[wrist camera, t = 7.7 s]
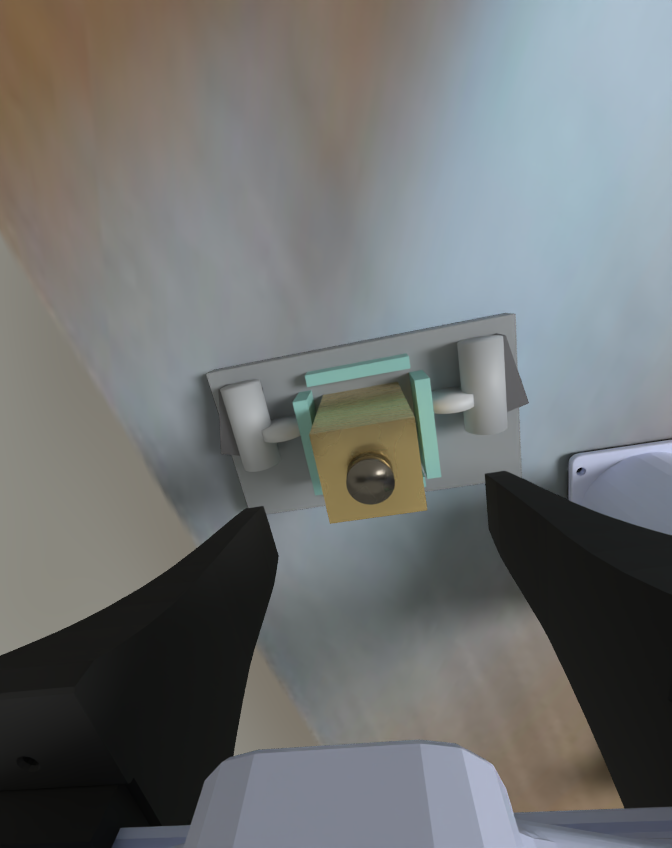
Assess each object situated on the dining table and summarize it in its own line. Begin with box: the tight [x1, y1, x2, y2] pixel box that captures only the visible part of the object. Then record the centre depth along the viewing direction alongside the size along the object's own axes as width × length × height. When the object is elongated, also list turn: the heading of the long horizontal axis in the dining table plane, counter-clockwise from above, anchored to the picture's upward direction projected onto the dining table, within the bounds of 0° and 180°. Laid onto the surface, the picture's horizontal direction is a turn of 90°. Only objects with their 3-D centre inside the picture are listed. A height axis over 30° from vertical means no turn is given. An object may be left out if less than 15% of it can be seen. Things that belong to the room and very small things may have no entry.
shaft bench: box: [206, 313, 529, 514], centre depth 19 cm, size 9×16×4 cm, turn 101°
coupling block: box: [309, 382, 427, 524], centre depth 17 cm, size 4×4×7 cm
